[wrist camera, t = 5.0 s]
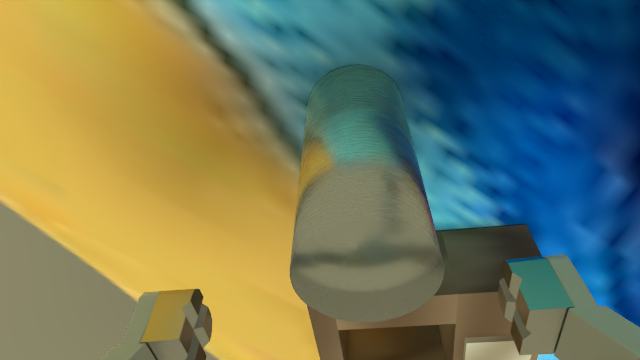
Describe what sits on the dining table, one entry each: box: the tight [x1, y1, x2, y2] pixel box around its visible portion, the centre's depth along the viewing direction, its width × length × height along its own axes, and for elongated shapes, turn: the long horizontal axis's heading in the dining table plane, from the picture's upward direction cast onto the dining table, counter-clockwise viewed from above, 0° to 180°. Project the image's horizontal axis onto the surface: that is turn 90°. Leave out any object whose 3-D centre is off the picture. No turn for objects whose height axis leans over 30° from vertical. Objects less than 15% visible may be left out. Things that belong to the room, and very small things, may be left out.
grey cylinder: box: [290, 65, 444, 322], centre depth 15 cm, size 4×4×9 cm
